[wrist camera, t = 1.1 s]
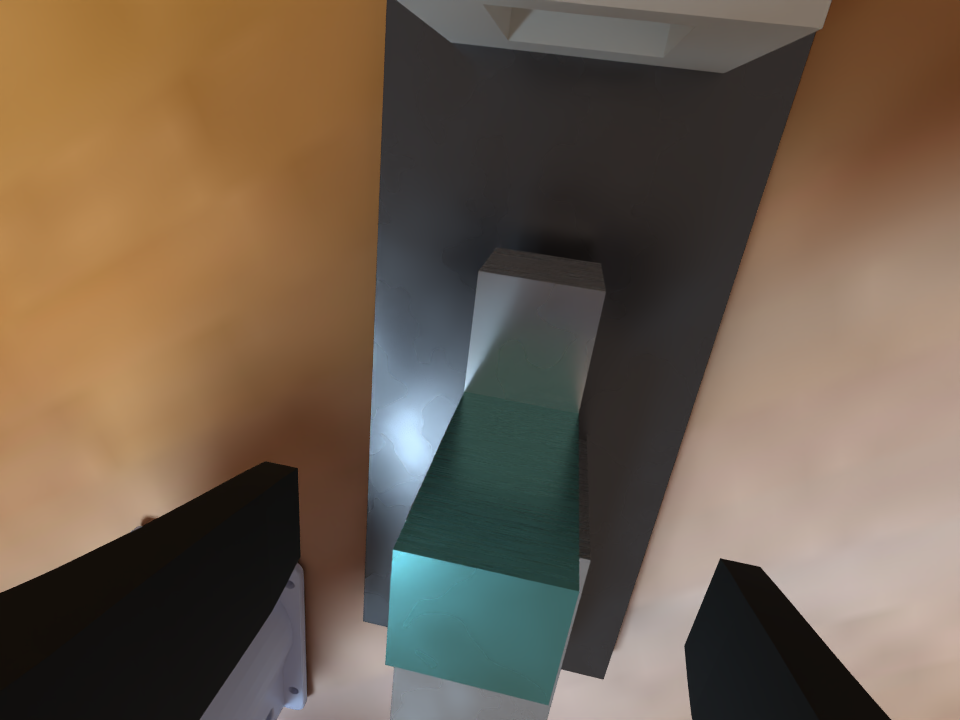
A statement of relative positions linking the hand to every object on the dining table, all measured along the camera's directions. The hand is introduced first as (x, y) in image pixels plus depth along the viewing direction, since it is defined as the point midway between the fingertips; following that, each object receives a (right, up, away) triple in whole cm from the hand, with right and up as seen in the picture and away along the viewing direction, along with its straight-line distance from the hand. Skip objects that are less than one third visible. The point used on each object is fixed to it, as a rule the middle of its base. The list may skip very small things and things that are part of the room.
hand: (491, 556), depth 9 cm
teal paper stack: (+1, -1, +7) cm, 7 cm away
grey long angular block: (+1, +3, +8) cm, 9 cm away
